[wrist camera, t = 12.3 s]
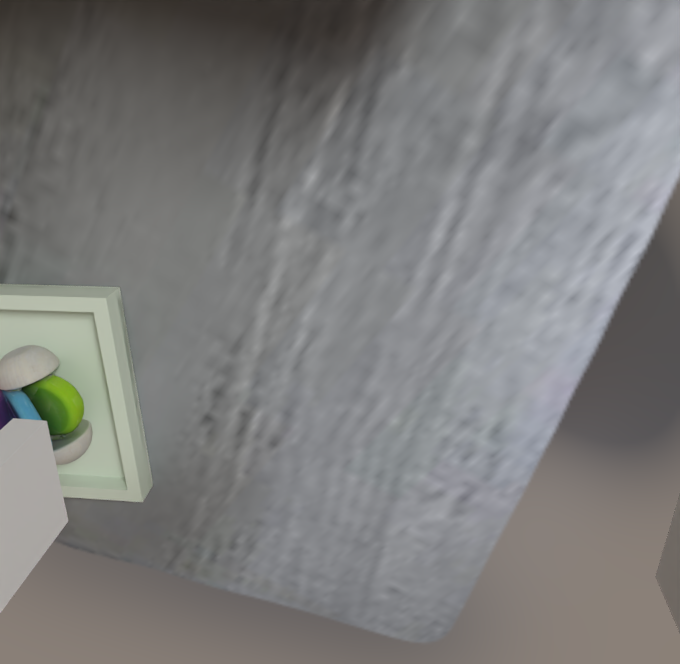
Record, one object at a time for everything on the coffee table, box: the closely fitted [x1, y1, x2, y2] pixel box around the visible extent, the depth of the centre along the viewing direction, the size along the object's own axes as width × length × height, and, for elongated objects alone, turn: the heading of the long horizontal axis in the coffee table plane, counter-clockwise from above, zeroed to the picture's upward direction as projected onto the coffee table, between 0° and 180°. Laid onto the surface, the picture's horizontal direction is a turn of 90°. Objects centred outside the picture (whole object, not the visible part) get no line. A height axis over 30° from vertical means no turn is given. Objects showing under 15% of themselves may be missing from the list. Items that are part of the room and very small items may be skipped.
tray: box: [0, 284, 153, 502], centre depth 45 cm, size 16×15×2 cm
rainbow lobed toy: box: [0, 345, 93, 465], centre depth 42 cm, size 8×10×7 cm
